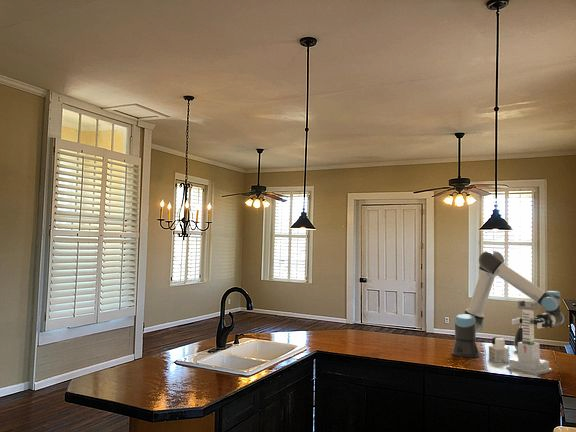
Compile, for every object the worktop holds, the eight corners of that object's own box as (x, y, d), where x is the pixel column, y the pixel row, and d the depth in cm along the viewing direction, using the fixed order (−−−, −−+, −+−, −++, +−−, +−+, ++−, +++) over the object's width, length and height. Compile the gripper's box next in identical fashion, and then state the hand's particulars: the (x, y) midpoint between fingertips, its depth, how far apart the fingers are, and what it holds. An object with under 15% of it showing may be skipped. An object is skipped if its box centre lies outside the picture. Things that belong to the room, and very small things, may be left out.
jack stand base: (506, 368, 246) (505, 339, 247) (522, 364, 255) (521, 336, 256) (536, 375, 233) (535, 345, 234) (552, 370, 242) (551, 341, 243)
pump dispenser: (528, 349, 290) (527, 325, 291) (535, 353, 280) (534, 328, 281) (511, 349, 291) (510, 325, 292) (517, 353, 281) (517, 328, 282)
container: (488, 358, 266) (488, 336, 267) (501, 358, 267) (501, 336, 268) (495, 362, 259) (495, 339, 259) (509, 362, 259) (508, 339, 260)
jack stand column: (519, 358, 246) (517, 301, 248) (523, 357, 249) (522, 300, 251) (534, 361, 240) (532, 302, 241) (538, 360, 243) (537, 302, 244)
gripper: (569, 330, 245) (549, 335, 233) (523, 323, 266) (502, 327, 254) (568, 316, 246) (549, 320, 234) (522, 310, 266) (502, 313, 254)
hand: (524, 323), depth 244 cm, fingers open, 13 cm apart
